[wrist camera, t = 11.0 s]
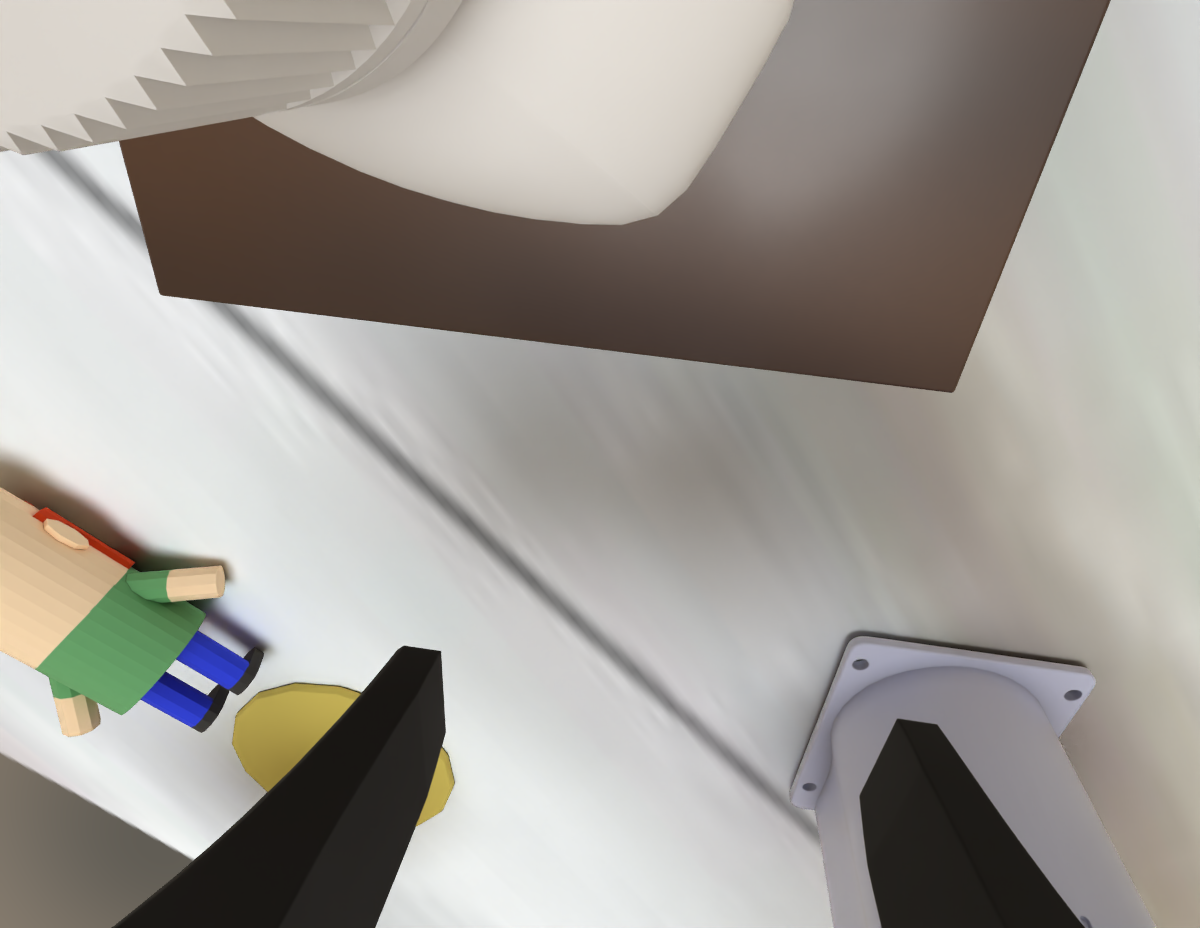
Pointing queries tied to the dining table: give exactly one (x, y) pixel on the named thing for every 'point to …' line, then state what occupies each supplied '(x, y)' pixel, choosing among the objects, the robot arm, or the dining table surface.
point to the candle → (306, 735)
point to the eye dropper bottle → (408, 88)
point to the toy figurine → (108, 623)
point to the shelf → (684, 210)
